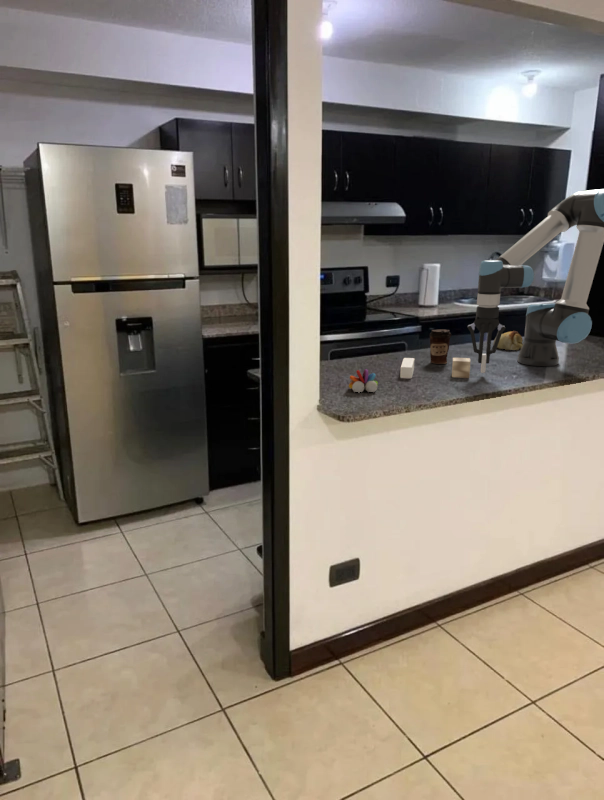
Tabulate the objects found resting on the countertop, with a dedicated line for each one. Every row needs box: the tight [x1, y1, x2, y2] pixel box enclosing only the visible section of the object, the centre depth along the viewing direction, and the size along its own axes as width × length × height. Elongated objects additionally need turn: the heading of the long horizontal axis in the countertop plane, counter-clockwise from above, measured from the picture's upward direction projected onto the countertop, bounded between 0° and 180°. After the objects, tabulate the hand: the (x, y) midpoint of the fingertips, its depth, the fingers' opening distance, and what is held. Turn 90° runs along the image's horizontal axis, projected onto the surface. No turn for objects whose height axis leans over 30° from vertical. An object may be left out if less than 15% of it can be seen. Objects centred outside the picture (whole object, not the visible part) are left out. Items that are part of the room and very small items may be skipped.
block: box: [451, 357, 471, 379], centre depth 214 cm, size 6×6×6 cm
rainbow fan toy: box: [348, 368, 379, 394], centre depth 195 cm, size 8×10×7 cm
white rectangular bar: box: [399, 357, 416, 379], centre depth 219 cm, size 4×16×4 cm, turn 167°
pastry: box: [492, 330, 524, 351], centre depth 262 cm, size 14×12×8 cm
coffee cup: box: [429, 328, 452, 365], centre depth 233 cm, size 9×8×13 cm
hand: (482, 371), depth 213 cm, fingers closed
